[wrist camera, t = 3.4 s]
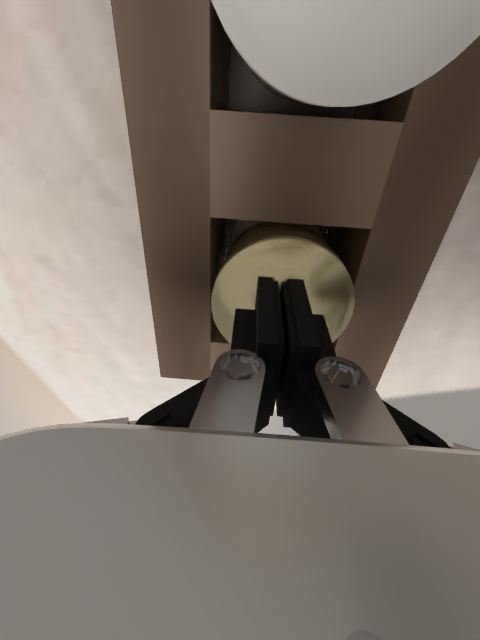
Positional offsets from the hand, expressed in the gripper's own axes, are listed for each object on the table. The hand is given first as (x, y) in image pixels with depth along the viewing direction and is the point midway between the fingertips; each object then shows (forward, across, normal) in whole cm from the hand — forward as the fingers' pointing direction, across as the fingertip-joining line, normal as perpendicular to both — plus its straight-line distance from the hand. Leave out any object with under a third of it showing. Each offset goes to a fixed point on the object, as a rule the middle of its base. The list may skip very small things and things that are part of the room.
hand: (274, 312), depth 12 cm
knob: (+7, 0, 0) cm, 7 cm away
